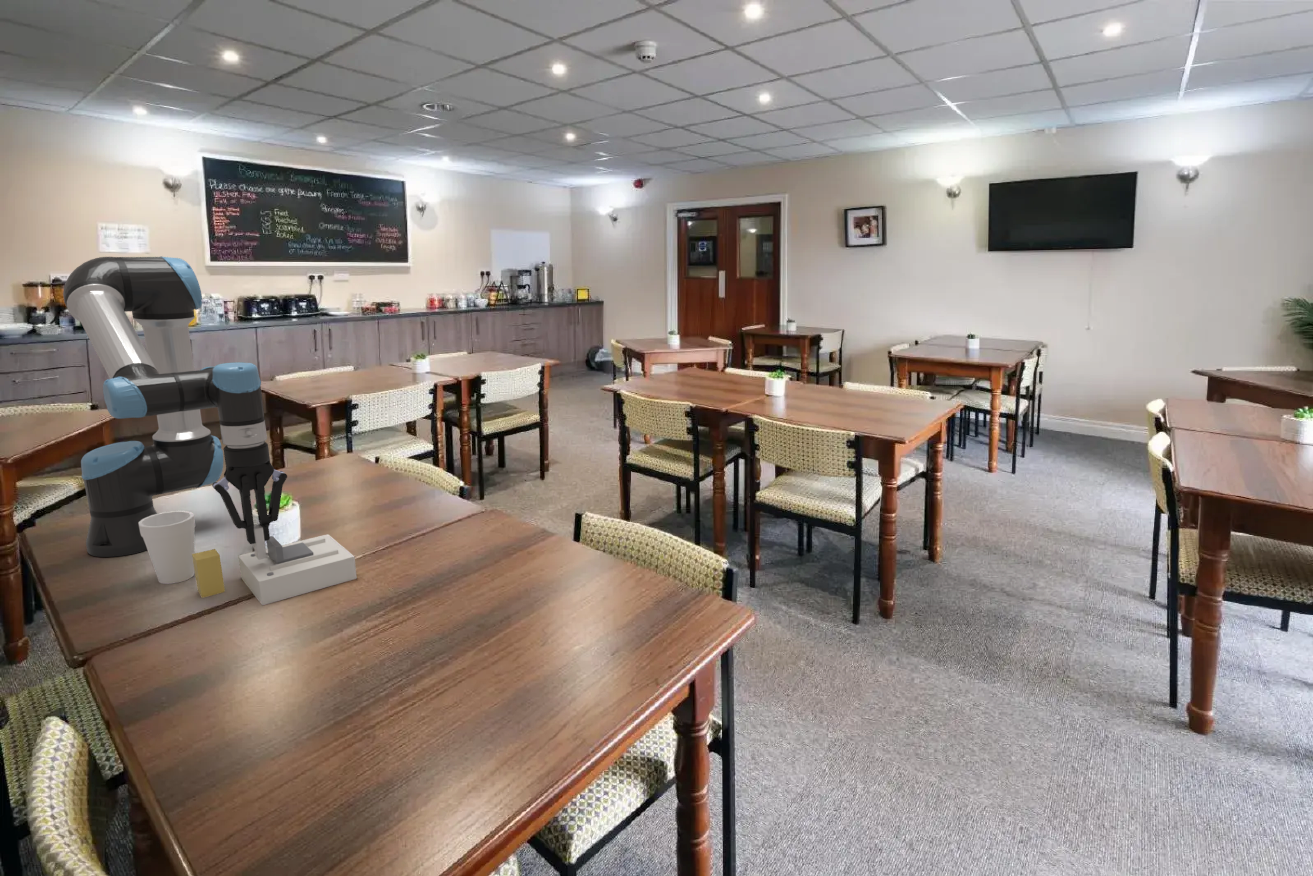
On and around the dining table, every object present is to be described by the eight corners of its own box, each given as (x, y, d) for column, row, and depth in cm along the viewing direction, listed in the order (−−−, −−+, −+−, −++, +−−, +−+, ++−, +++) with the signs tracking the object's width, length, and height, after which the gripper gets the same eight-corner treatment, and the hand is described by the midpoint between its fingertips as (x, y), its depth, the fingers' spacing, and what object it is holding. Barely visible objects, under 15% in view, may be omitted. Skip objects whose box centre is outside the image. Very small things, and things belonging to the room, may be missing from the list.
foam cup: (176, 589, 142) (165, 529, 139) (137, 584, 144) (126, 525, 141) (213, 569, 152) (204, 512, 148) (176, 565, 153) (167, 509, 150)
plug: (197, 591, 142) (191, 554, 140) (220, 585, 145) (215, 548, 143) (202, 598, 139) (196, 560, 137) (225, 592, 142) (219, 555, 140)
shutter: (268, 555, 146) (265, 537, 145) (303, 546, 151) (301, 529, 150) (277, 565, 142) (275, 547, 141) (313, 556, 146) (311, 538, 145)
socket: (241, 577, 148) (237, 552, 147) (330, 554, 160) (327, 530, 158) (262, 605, 137) (258, 577, 135) (356, 578, 148) (354, 553, 147)
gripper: (210, 453, 129) (228, 572, 135) (287, 442, 138) (301, 554, 144) (202, 445, 135) (219, 559, 141) (276, 434, 143) (290, 543, 149)
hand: (260, 556), depth 142 cm, fingers closed
